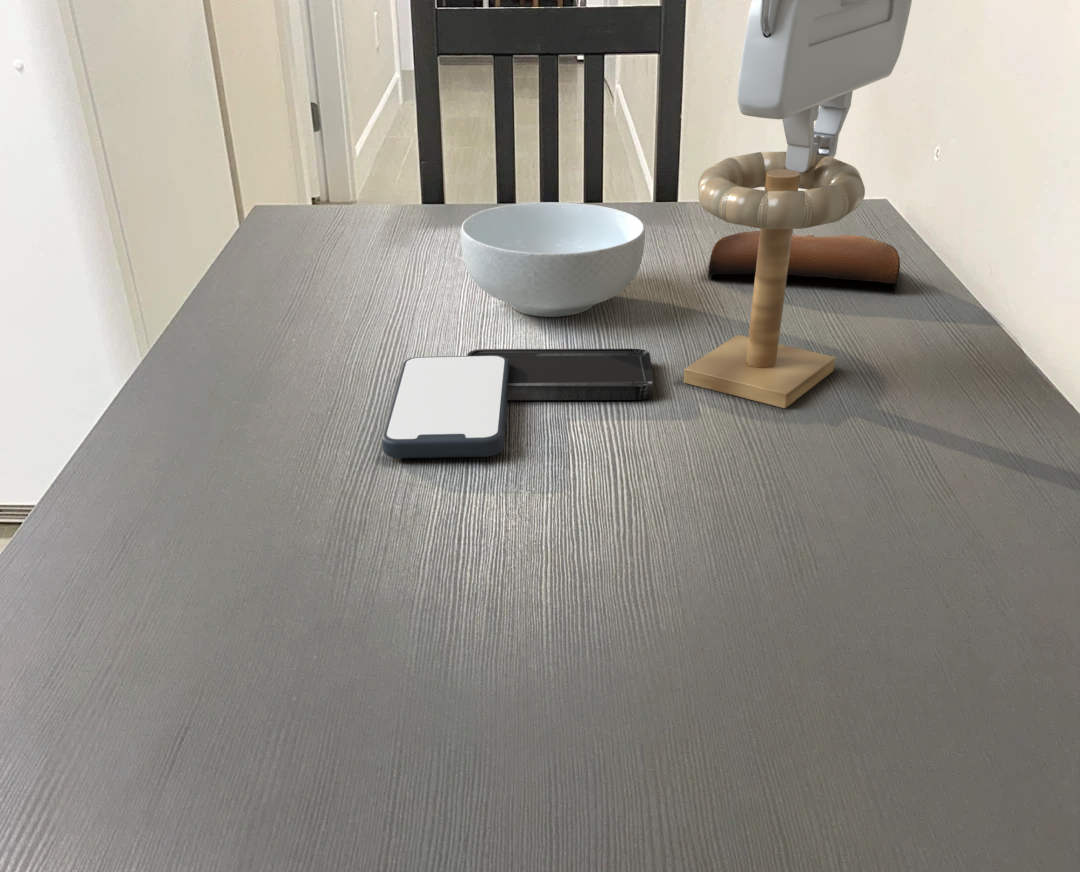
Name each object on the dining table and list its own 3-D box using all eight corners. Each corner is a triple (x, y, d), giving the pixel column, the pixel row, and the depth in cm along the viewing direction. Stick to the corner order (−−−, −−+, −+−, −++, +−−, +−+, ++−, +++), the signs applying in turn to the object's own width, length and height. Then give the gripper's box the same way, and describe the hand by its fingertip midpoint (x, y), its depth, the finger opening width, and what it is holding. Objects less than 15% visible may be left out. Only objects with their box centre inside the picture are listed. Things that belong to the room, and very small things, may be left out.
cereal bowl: (633, 340, 95) (636, 255, 90) (447, 331, 97) (441, 248, 93) (648, 277, 108) (652, 200, 103) (484, 271, 110) (481, 196, 106)
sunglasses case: (897, 261, 109) (909, 210, 103) (890, 319, 107) (901, 269, 100) (717, 251, 112) (718, 200, 106) (706, 306, 110) (706, 257, 104)
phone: (654, 386, 84) (460, 386, 85) (653, 400, 85) (461, 400, 85) (648, 347, 90) (468, 348, 91) (648, 361, 91) (469, 361, 91)
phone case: (404, 375, 90) (380, 463, 77) (402, 355, 89) (377, 442, 76) (511, 372, 89) (504, 461, 77) (510, 353, 88) (503, 439, 76)
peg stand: (833, 371, 89) (867, 168, 80) (785, 409, 84) (814, 196, 74) (735, 348, 93) (755, 152, 84) (683, 382, 88) (698, 177, 78)
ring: (886, 195, 81) (892, 160, 79) (817, 244, 74) (822, 207, 73) (744, 173, 86) (747, 140, 85) (667, 217, 80) (669, 181, 78)
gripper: (818, -45, 65) (787, 202, 74) (939, -70, 78) (901, 144, 87) (724, -50, 68) (705, 189, 77) (856, -73, 81) (827, 134, 90)
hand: (810, 164), depth 82 cm, fingers closed on ring, 2 cm apart
